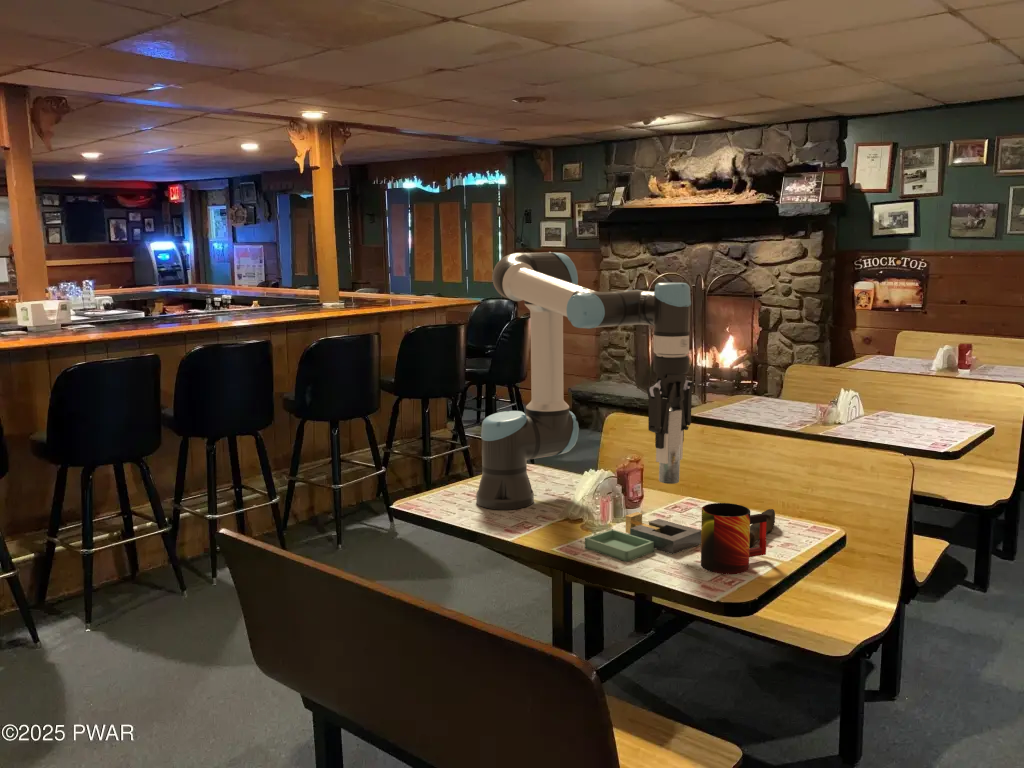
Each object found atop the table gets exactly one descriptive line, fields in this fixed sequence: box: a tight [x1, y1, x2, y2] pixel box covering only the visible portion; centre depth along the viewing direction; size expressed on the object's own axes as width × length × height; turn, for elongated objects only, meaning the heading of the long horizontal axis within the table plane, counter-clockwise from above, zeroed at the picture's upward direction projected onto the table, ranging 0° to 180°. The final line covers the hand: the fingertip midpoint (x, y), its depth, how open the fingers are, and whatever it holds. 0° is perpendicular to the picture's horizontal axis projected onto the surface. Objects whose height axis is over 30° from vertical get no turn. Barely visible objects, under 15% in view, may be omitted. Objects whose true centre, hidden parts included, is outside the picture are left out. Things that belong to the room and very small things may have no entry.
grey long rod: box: [658, 407, 682, 485], centre depth 183 cm, size 4×4×16 cm
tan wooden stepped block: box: [625, 511, 660, 534], centre depth 191 cm, size 8×4×4 cm, turn 41°
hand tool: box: [749, 508, 776, 549], centre depth 189 cm, size 19×4×5 cm, turn 142°
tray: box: [584, 528, 655, 563], centre depth 182 cm, size 12×9×2 cm
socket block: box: [629, 518, 701, 555], centre depth 186 cm, size 12×10×3 cm
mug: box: [700, 502, 767, 576], centre depth 173 cm, size 10×14×12 cm
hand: (669, 460), depth 183 cm, fingers closed on grey long rod, 4 cm apart
